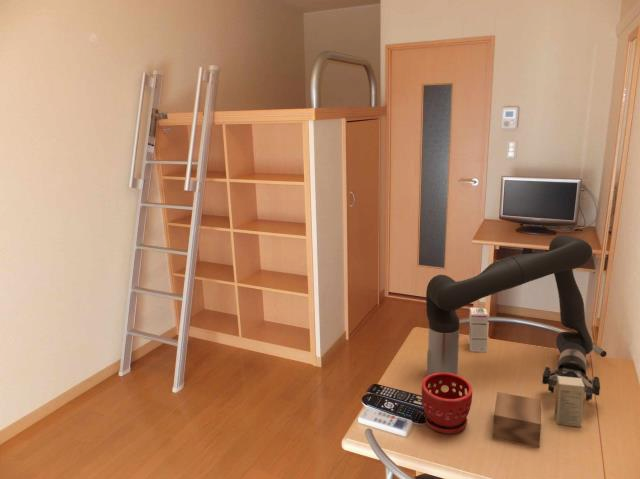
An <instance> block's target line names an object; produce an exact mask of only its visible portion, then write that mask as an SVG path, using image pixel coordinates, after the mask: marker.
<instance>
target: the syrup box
mask: <svg viewBox="0 0 640 479" xmlns="http://www.w3.org/2000/svg"><path fill="white" fill-rule="evenodd" d="M488 319H489V314H488V310H487V308H485V307H469V320H468V321H469V322H468V324H469V325H468V328H469V329H468V347H469V348H468V349H469V351H470V352H472V353H487V352H488V351H487V349H488V326H489V325H488V323H489V322H488V321H489V320H488Z"/></svg>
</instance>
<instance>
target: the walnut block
mask: <svg viewBox="0 0 640 479" xmlns="http://www.w3.org/2000/svg"><path fill="white" fill-rule="evenodd" d="M496 393H497V394H496V399H495V406H494V411H493V422H492V438H494V439H498V440H502V441H507V442H512V443H516V444H520V445H525V446H528V447H529V446H530V447H533V448H538V449H539V448H540V442H541V440H540V439H541V430H542V428H541V427H542V399H537V398H533V397H527V396H522V395H517V394H512V393H506V392H499V391H497V392H496Z"/></svg>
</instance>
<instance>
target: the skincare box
mask: <svg viewBox="0 0 640 479" xmlns="http://www.w3.org/2000/svg"><path fill="white" fill-rule="evenodd" d="M555 387H556V389H555V400H554V401H555V402H554V420H555V424H557V425H565V426H571V427H580V428H581V427H582V423H583V410H584V400H585V398H584V397H585V392H584V388H585V386H584V383H583V380H582V378H574V377H565V376H557V386H555Z"/></svg>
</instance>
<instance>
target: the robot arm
mask: <svg viewBox="0 0 640 479" xmlns="http://www.w3.org/2000/svg"><path fill="white" fill-rule="evenodd" d="M592 256H593V248H592V246H591V245H590V243H588V242H587V241H585V240H584V239H582V238H578V237H574V236H570V235H567V234H560V235H559V234H558V235H557V236H556V237H554V238H553V239H552V240H551V241H550V243H549V245H548V250H547V251H543V252H534V253H533V252H531V253H521V254H515V255H510V256H507V257H504V258H502V259H498V260H496V261H494V262H492V263H490V264H489V265H488V266H487V267H486V268H485V269H484V270H482V271H481V272H480V273H479V274H477V275H475V276H473V277H470V278H467V279H463V280H458V281H456V280H454V279H453V278H452V277H450V276H448V275H446V274H437V275H435V276H433V277H432V278H431V279H430V281H429V282H428V284H427V286H426V293H425V298H426V299H425V301H426V302H425V303H426V304H425V305H426V310H425V311H426V317H427V321H428V341H427V342H428V345H427V351H426V377H427V376H429V375H431V374H434V373H442V372H444V373H452V374H455V375H458V376H459V374H458V373H459V370H458V369H459V350H460V349H459V346H460V345H459V343H460V319H459V316H458V314H457V312H456V310H459V309H462V308H464V307H466V306H468V305H470V304H472V303H474V302H476V301H478V300H481V299H483V298H486V297H488V296H489V297H490V296H492V295H494V294H497V293H500V292H503V291H507V290H510V289H513V288H515V287H516V288H517V287H519V286H522V285H524V284H527V283H529V282H533V281H536V280H539V279H542V278H545V277H546V276H550V275H553V274H554V275H553V276H554V279H555V284H556V289H557V294H558V301H559V314H560V317H559V318H560V323H561V325H562V326H563V327H565V328H568V329H570V330H575V331H561V332H559V333H558V334H557V335H556V338H555V341H556V344H555V345H556V347H557V349H558V352H559V353H560V355H559V358H558V363H557V369H556V370H555V371H554V370H551V367H549V366H546V367H545V368H544V372H543V374H542V381H541V382H542V384H543V385H548V388H547V390H548V392H550V394H554V391H555V387H556V386H557V376H565V377H574V378H582V380H583V383H584V386H585V388H584V394H585V401H587V402H589V401H590V400H592V399H593V394H594V395H595V396H600V393H601V392H600V390H601V382H600V377H598V376H593V378H591V377H588V376H587V360H586V359H587V355H589V354H590V353H591V352H592V351H593V348H594V343H593V339H592V337H591V335H590V333H589V330H588V328H587V324H586V317H585V316H586V315H585V314H586V313H585V301H584V298H583V296H582V293H581V291H580V288H579V285H578V284H577V281H576V279H575V275H574V271H573V270H576V269H578V268H581V267H584V266H585V265H587V263H588V262H589V261H590V260H591V258H592ZM439 383H442V381H439ZM453 383H454V382H452V384H453Z"/></svg>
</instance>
